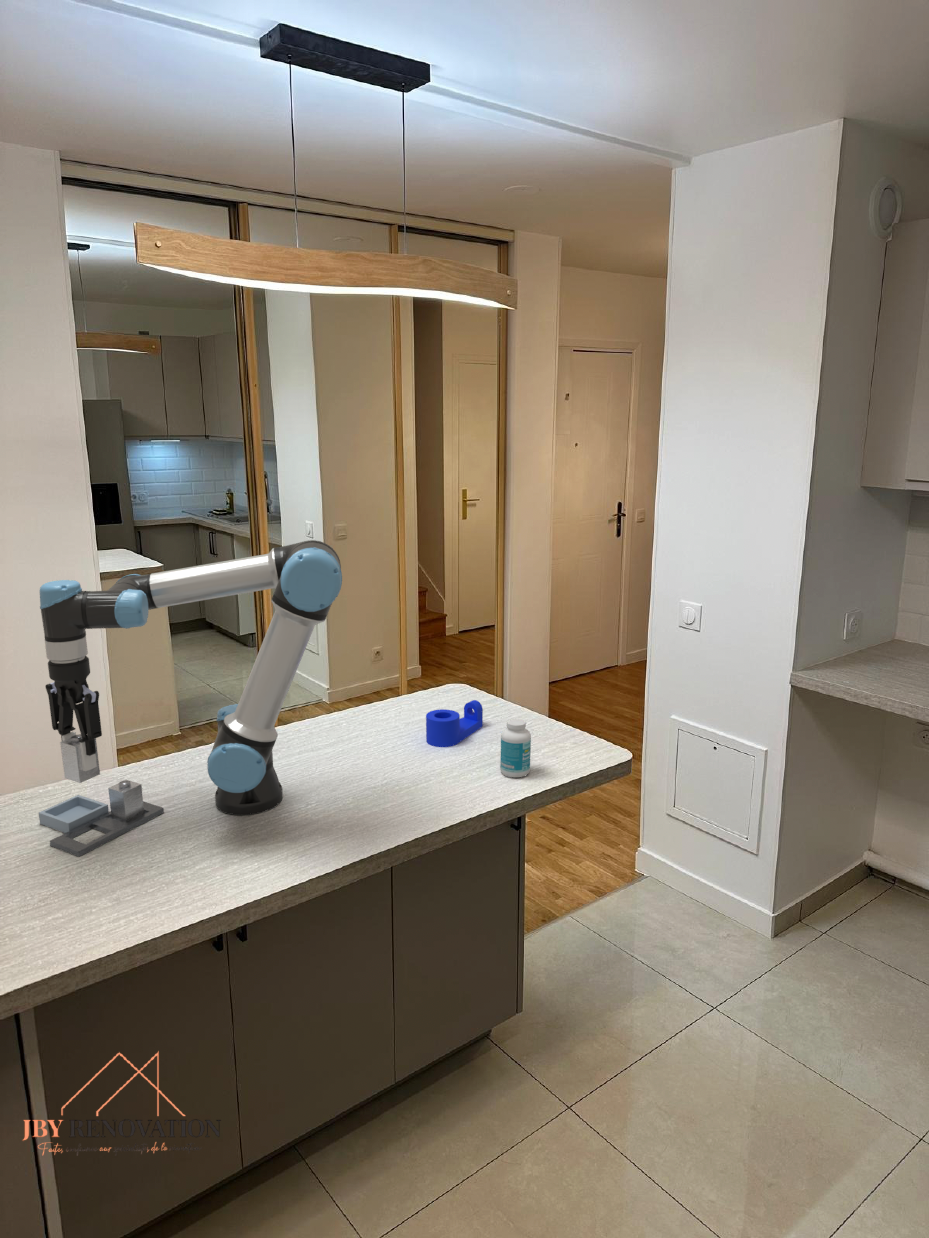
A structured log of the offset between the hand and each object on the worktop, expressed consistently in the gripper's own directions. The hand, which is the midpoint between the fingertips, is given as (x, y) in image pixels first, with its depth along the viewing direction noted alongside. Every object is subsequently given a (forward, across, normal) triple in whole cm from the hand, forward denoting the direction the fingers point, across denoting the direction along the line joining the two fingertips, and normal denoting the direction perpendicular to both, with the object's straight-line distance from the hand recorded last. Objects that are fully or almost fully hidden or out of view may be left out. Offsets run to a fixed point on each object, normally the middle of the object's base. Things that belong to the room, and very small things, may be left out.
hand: (81, 765), depth 176 cm
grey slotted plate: (+17, 0, -5) cm, 17 cm away
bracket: (+17, -38, -88) cm, 98 cm away
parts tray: (+17, +10, -4) cm, 20 cm away
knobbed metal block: (+2, 0, 0) cm, 2 cm away
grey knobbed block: (+17, 0, -10) cm, 19 cm away
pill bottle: (+17, -64, -74) cm, 99 cm away
